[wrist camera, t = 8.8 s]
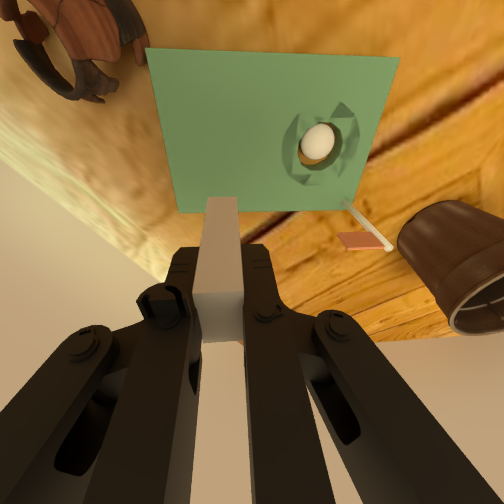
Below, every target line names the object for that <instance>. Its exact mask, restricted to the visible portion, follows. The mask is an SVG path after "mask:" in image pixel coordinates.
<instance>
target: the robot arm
mask: <svg viewBox="0 0 504 504" xmlns="http://www.w3.org/2000/svg"><path fill="white" fill-rule="evenodd" d="M170 265H171V266H170V267H169V271H168V274H167V277H166V280H165V282H164V283H158V284H156V285H153V286H151V287H149V288H147V289H146V290H145V291H144V292H143V293H141V294H140V296H139V297H138V299H137V300H136V303H137V305H138V307H139V309H140V311H141V313H142V315H143V317H144V320H142V321H140V322H138V323H136V324H133V325H131V326H128V327H124V328H122V329H118V330H115V331H112V332H111V331H110V329H109V328H108V327H106V326H103V325H91V326H88V327H85V328H82V329H80V330H78V331H76V332H75V333H73V334H71V335H70V336H69V337H68V338H67V339H66V340H65V341H63V342H62V343H61V344H60V345H59V346H58V348H57V349H56V350H55V351H54V352H53V353H52V354H51V355H50V357H49V358H48V359H47V360H46V361H45V363H43V365H42V366H41V367H40V368H39V369H38V370H37V371H36V372H35V374H34V375H33V376H32V377H31V378H30V379H29V380H28V382H27V383H26V384H25V385H24V386H23V387H22V389H20V391H19V392H18V393H17V394H16V395H15V396H14V397H13V398H12V400H11V401H10V402H9V403H8V404H7V405H6V406H5V408H4V409H3V410H2V411H1V412H0V504H190V494H191V483H192V471H193V459H194V448H195V436H196V426H197V414H198V403H199V391H200V380H201V368H202V354H201V342H202V340H203V343H212V342H226V341H240V340H243V342H244V366H245V383H246V402H247V420H248V439H249V455H250V456H249V457H250V474H251V493H252V504H336V503H335V499H334V495H333V491H332V487H331V483H330V479H329V475H328V471H327V467H326V463H325V459H324V455H323V451H322V447H321V443H320V439H319V435H318V431H317V428H316V423H315V419H314V415H313V411H312V407H311V403H310V399H309V395H308V392H307V388H308V390H309V392H310V394H311V396H312V398H313V400H314V402H315V404H316V406H317V408H318V410H319V413H320V415H321V416H322V419H323V421H324V423H325V425H326V427H327V429H328V431H329V433H330V435H331V438H332V440H333V442H334V444H335V446H336V448H337V450H338V452H339V454H340V456H341V458H342V461H343V462H344V465H345V467H346V469H347V471H348V473H349V475H350V477H351V479H352V481H353V483H354V485H355V488H356V490H357V492H358V494H359V496H360V498H361V500H362V502H363V504H504V503H503V502H502V500H501V499H500V498H499V497H498V495H497V494H496V493H495V492H494V491H493V489H492V488H491V487H490V486H489V484H488V483H487V482H486V481H485V479H484V478H483V477H482V476H481V475H480V473H479V472H478V471H477V470H476V468H475V467H474V466H473V465H472V463H471V462H470V461H469V460H468V458H467V457H466V456H465V455H464V453H463V452H462V451H461V450H460V449H459V447H458V446H457V445H456V444H455V443H454V441H453V440H452V439H451V437H450V436H449V435H448V434H447V432H446V431H445V430H444V429H443V427H442V426H441V425H440V424H439V423H438V421H437V420H436V419H435V418H434V416H433V415H432V414H431V413H430V412H429V410H428V409H427V408H426V406H425V405H424V404H423V403H422V402H421V400H420V399H419V398H418V397H417V395H416V394H415V393H414V392H413V390H412V389H411V388H410V387H409V386H408V384H407V383H406V382H405V381H404V379H403V378H402V377H401V376H400V375H399V373H398V372H397V371H396V369H395V368H394V367H393V366H392V365H391V363H390V362H389V361H388V360H387V358H386V357H385V356H384V355H383V353H382V352H381V351H380V350H379V349H378V347H377V346H376V345H375V344H374V342H373V341H372V340H371V339H370V337H369V336H368V335H367V334H366V332H365V331H364V330H363V329H362V327H361V326H360V325H359V324H358V323H357V322H356V321H355V320H354V319H353V318H352V317H351V316H350V315H348V314H346V313H344V312H342V311H338V310H325V311H323V312H321V313H319V314H318V316H317V317H314V316H310V315H306V314H301V313H298V312H295V311H293V310H291V309H289V308H288V307H287V306H286V305H285V304H284V303H283V302H282V300H281V299H280V296H279V293H278V289H277V284H276V280H275V276H274V272H273V268H272V263H271V259H270V255H269V251H268V250H267V249H266V247H265V246H264V245H263V244H241V245H240V233H239V220H238V207H237V197H208V200H207V206H206V212H205V218H204V224H203V230H202V236H201V243H200V247H180V249H179V250H178V251H177V252H176V253H175V254H174V255H173V258H172V261H171V264H170ZM306 386H307V387H306Z"/></svg>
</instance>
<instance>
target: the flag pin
mask: <svg viewBox="0 0 504 504" xmlns="http://www.w3.org/2000/svg"><path fill="white" fill-rule="evenodd" d="M341 203H342V204H343V205H344V206H345V207H346V208H347V209H348V211H349V212H350V213H351V214H352V215H353V216H354V217H355V218H356V219H357V220H358V221H359V222H360V224H361V225H362V226H363V227H364V228H365V229H366V230H367V231H368V232H345V233H337V236H338V238H339V239H340V241H341V242H342V243H343V245H344V246H345V248H346V249H347V250H363V249H384V250H385V251H387V252H389V251H391V250H392V249H393V246H392V245H391V244H390V243H389V242H388V241H387V240H386V239H385V238H384V237H383V236H382V235H381V234H380V233H379V232H378V231H377V230H376V229H375V228H374V227H373V226H372V224H371V223H370V222H369V221H368V220H367V219H366V218H365V217H364V216H363V215H362V214H361V213H360V212H359V211H358V210H357V209H356V208H355V207H354V206H353V205H352V204H351V203H350V202H349V201H348V200H347V199H346V198H343V199H341Z"/></svg>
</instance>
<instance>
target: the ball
mask: <svg viewBox="0 0 504 504" xmlns="http://www.w3.org/2000/svg"><path fill="white" fill-rule="evenodd" d="M333 145H334V133H333V131H332V129H331V128H330V127H329V126H328V125H326V124H324V123H317V124H315V125H313V126H312V127H310V128H308V129H307V130H306V132H305V133H304V135H303V136H302V138H301V142H300V146H301V150H302V152H303V154H304V155H305V156H306V157H308V158H310V159H315V160H316V159H321V158H323V157H325V156H326V155H327V154H328V153H329V152H330V151H331V149H332V147H333Z"/></svg>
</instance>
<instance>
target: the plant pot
mask: <svg viewBox="0 0 504 504" xmlns="http://www.w3.org/2000/svg"><path fill="white" fill-rule="evenodd" d="M397 245H398V250H399V251H400V253H401V254H402V255H403V256H404V258H405V259H406V260H407V261H408V263H409V264H410V265H411V267H412V268H413V269H414V271H415V272H416V273H417V275H418V276H419V277H420V278H421V280H422V281H423V282H424V284H425V285H426V286H427V288H428V289H429V290H430V292H431V293H432V294H433V296H434V297H435V300H436V303H437V305H438V306H439V307H440V309H441V310H442V311H443V313H444V314H445V315H446V317H447V318H448V324H449V326H450V327H451V329H452V330H453V331H454V332H456V333H458V334H460V335H466V336H483V335H490V334H496V333H500V332H504V219H501V218H499V217H497V216H494V215H492V214H489V213H487V212H484V211H482V210H480V209H477V208H475V207H472V206H470V205H468V204H466V203H463V202H460V201H444V202H440V203H437V204H434V205H432V206H429V207H427V208H425V209H424V210H422V211H420V212H419V213H417V214H416V216H415V218H414V219H413V220H412V221H411V222H409V223H407V224H406V225H405V226H404V227H403V229H402V230H401V232H400V234H399V237H398V242H397Z"/></svg>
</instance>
